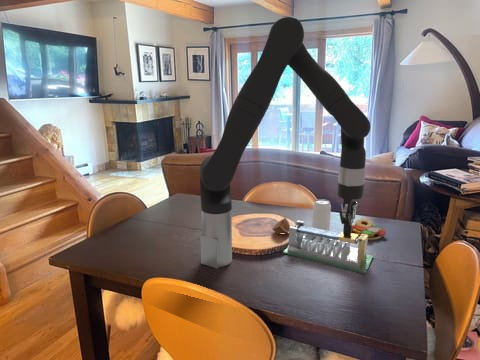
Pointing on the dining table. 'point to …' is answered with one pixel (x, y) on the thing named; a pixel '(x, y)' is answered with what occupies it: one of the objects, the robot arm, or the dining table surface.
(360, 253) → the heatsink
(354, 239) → the grey and tan bar
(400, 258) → the dining table surface
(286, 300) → the dining table surface
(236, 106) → the robot arm
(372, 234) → the toy food set
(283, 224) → the fruit slice
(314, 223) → the can
